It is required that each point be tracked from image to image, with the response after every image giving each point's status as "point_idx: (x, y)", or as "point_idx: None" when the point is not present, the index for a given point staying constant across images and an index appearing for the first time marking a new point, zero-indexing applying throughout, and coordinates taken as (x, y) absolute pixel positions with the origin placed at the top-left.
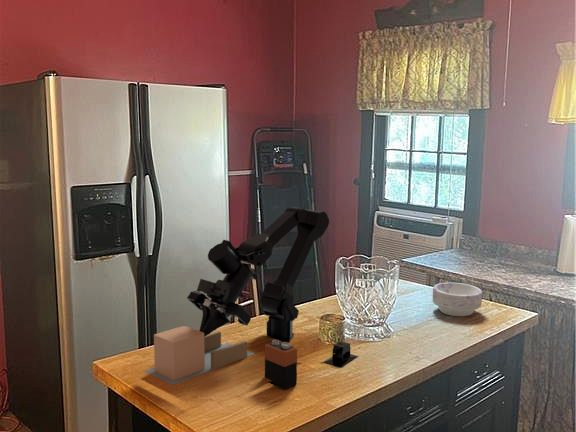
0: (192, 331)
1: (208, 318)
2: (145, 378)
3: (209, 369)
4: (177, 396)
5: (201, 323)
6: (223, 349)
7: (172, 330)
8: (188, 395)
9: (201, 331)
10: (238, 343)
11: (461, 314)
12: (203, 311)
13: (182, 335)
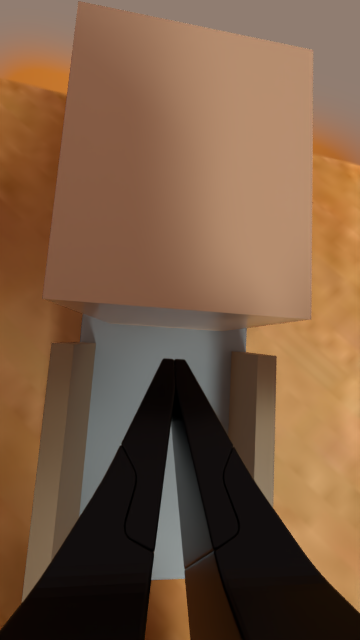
0: (153, 260)
1: (156, 517)
2: None
3: (92, 331)
4: (56, 157)
5: (221, 432)
6: (48, 417)
7: (287, 180)
8: (33, 180)
9: (171, 379)
10: (43, 543)
11: None
12: (328, 611)
13: (143, 145)
